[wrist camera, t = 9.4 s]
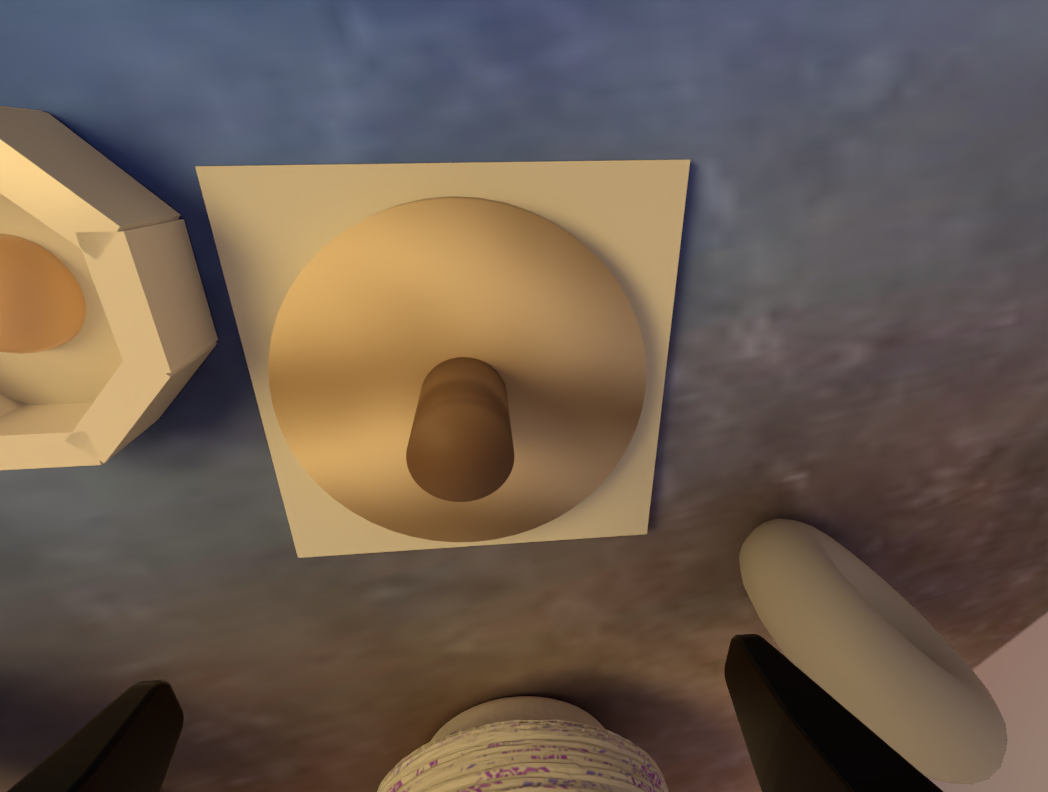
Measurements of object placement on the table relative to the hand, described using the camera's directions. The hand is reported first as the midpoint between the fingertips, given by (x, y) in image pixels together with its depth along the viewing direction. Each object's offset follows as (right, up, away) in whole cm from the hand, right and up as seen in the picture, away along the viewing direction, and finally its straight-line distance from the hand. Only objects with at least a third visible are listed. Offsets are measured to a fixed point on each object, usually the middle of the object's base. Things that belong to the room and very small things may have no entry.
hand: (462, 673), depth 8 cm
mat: (-1, +5, +11) cm, 12 cm away
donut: (+13, -2, +16) cm, 21 cm away
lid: (-1, +5, +10) cm, 12 cm away
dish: (-15, +8, +8) cm, 19 cm away
